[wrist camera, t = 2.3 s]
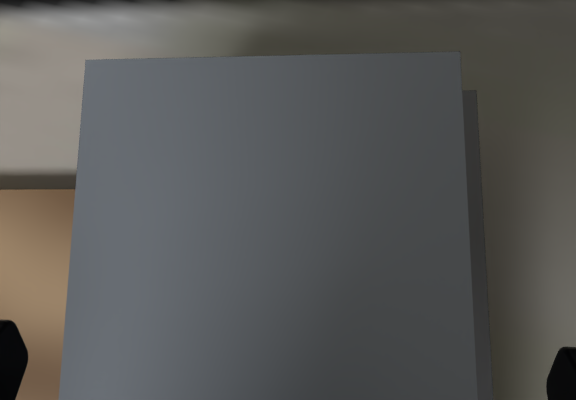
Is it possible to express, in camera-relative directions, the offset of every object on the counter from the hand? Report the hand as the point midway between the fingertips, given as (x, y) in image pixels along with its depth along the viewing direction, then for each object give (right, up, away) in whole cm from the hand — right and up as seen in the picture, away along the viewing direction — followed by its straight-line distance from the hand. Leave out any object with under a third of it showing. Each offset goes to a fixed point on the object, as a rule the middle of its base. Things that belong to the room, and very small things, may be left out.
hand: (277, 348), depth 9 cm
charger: (+1, 0, +7) cm, 7 cm away
